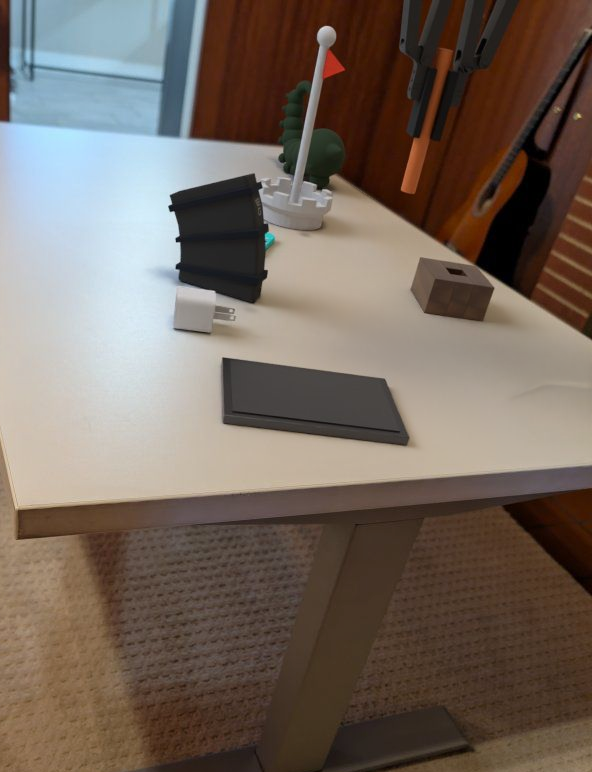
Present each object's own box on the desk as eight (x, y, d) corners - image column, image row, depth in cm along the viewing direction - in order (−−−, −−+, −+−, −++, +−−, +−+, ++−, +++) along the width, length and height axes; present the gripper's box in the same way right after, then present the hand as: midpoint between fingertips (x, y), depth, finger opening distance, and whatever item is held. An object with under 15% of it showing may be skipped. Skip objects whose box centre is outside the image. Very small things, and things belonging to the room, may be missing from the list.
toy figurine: (262, 169, 167) (312, 193, 147) (274, 75, 158) (330, 87, 138) (300, 172, 170) (354, 196, 151) (314, 80, 162) (374, 93, 142)
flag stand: (238, 208, 131) (269, 14, 115) (291, 205, 139) (327, 22, 124) (288, 234, 124) (329, 29, 108) (341, 229, 132) (387, 38, 116)
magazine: (277, 299, 94) (248, 176, 88) (186, 314, 100) (152, 199, 94) (287, 291, 97) (259, 171, 91) (198, 305, 103) (166, 193, 97)
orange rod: (413, 190, 83) (451, 49, 76) (416, 194, 82) (455, 51, 74) (399, 188, 83) (436, 47, 75) (402, 192, 81) (440, 48, 74)
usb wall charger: (173, 315, 89) (177, 283, 87) (231, 323, 90) (236, 292, 88) (172, 330, 86) (177, 297, 83) (233, 338, 87) (238, 305, 84)
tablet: (383, 385, 83) (385, 377, 82) (407, 445, 73) (410, 436, 72) (220, 364, 80) (222, 355, 80) (222, 423, 70) (224, 414, 70)
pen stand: (465, 297, 113) (476, 265, 110) (482, 321, 105) (495, 287, 103) (410, 289, 111) (420, 256, 109) (424, 312, 104) (435, 278, 102)
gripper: (556, -122, 71) (476, 140, 83) (408, -156, 69) (349, 118, 81) (592, -129, 65) (500, 155, 77) (430, -167, 62) (362, 132, 75)
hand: (423, 136), depth 79 cm, fingers closed on orange rod, 1 cm apart
